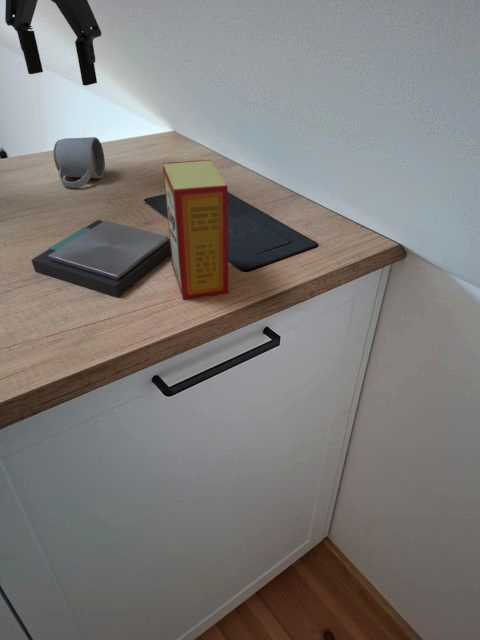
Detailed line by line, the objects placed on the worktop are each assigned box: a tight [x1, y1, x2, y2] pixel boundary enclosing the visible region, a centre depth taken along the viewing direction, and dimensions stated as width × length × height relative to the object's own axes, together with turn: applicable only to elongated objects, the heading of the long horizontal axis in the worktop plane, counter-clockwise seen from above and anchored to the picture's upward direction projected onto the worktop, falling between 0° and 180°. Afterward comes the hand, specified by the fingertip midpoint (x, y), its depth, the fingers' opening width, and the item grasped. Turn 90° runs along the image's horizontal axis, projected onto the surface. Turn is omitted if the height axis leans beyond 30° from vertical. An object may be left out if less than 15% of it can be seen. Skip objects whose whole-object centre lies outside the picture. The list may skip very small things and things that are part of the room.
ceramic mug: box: [53, 136, 106, 189], centre depth 97 cm, size 11×8×8 cm
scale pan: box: [48, 220, 169, 280], centre depth 74 cm, size 12×13×1 cm
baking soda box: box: [162, 159, 229, 300], centre depth 67 cm, size 10×6×16 cm
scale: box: [31, 219, 171, 298], centre depth 75 cm, size 15×15×2 cm
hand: (62, 78), depth 88 cm, fingers open, 13 cm apart
